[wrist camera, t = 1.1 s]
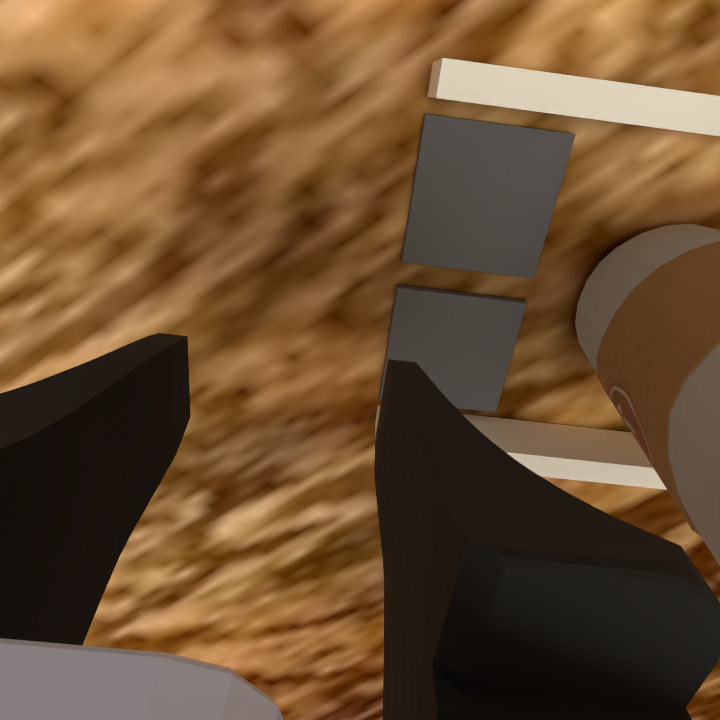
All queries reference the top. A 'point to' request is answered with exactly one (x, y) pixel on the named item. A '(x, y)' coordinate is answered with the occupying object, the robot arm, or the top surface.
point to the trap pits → (474, 248)
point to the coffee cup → (664, 358)
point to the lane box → (598, 102)
